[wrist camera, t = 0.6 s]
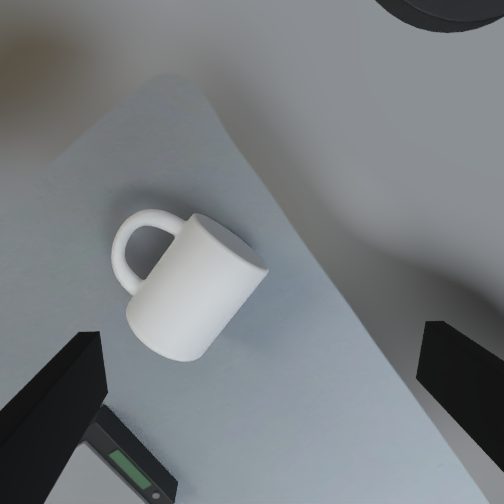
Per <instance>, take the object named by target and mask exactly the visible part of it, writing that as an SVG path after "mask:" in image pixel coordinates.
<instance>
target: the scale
mask: <svg viewBox="0 0 504 504" xmlns="http://www.w3.org/2000/svg"><path fill="white" fill-rule="evenodd" d="M177 485H178V482H177V481H176V480H175V479H174V478H173V477H172V476H171V475H170V474H169V472H168V471H167V470H166V469H165V468H164V467H163V466H162V465H161V464H160V463H159V462H158V461H157V460H156V459H155V458H154V456H153V455H152V454H151V453H150V452H149V451H148V450H147V449H146V448H145V447H144V446H143V445H142V444H141V443H140V442H139V440H138V439H137V438H136V437H135V436H134V435H133V434H132V433H131V432H130V431H129V430H128V429H127V428H126V427H125V426H124V424H123V423H122V422H121V421H120V420H119V419H118V418H117V417H116V416H115V415H114V414H113V413H112V412H111V411H110V410H109V408H108V407H107V406H106V405H104V406H102V407H101V408H99V409H98V411H97V412H96V414H95V416H94V418H93V419H92V421H91V423H90V425H89V426H88V428H87V430H86V431H85V433H84V435H83V437H82V438H81V440H80V442H79V444H78V445H77V447H76V449H75V451H74V452H73V454H72V456H71V458H70V459H69V461H68V463H67V464H66V466H65V468H64V470H63V471H62V473H61V475H60V477H59V478H58V480H57V482H56V484H55V485H54V487H53V489H52V490H51V492H50V494H49V496H48V497H47V499H46V501H45V503H44V504H174V503H175V497H176V491H177Z"/></svg>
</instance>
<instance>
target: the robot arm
mask: <svg viewBox="0 0 504 504" xmlns="http://www.w3.org/2000/svg"><path fill="white" fill-rule="evenodd" d="M416 379H417V380H418V381H419V382H420V383H421V384H422V385H423V386H424V388H426V390H427V391H428V392H429V393H430V394H431V395H432V396H433V397H434V398H435V399H436V400H437V401H438V402H439V404H441V406H442V407H443V408H444V409H445V410H446V411H447V412H448V413H449V414H450V415H451V416H452V417H453V419H454V420H455V421H456V422H457V423H458V424H459V425H460V426H461V427H462V428H463V429H464V430H465V431H466V432H467V433H468V435H469V436H470V437H471V438H472V439H473V440H474V441H475V442H476V443H477V444H478V445H479V446H480V447H481V448H482V450H483V451H484V452H485V453H486V454H487V455H488V456H489V457H490V458H491V459H492V460H493V461H494V462H495V463H496V464H497V466H498V467H499V468H500V469H501V470H502V471H503V472H504V361H503V360H501V359H500V358H498V357H497V356H495V355H494V354H492V353H491V352H489V351H488V350H486V349H485V348H483V347H482V346H480V345H479V344H477V343H476V342H474V341H473V340H471V339H470V338H468V337H466V336H465V335H463V334H462V333H461V332H459V331H457V330H456V329H455V328H453V327H452V326H450V325H449V324H447V323H445V322H444V321H426V323H425V329H424V334H423V340H422V346H421V352H420V358H419V364H418V369H417V375H416ZM107 393H108V389H107V382H106V374H105V367H104V360H103V353H102V345H101V338H100V331H97V332H78V333H77V334H76V335H75V336H74V337H73V338H72V339H71V340H70V341H69V342H68V343H67V344H66V345H65V346H64V347H63V348H62V349H61V350H60V351H59V352H58V353H57V354H56V355H55V356H54V357H53V358H52V359H51V360H50V361H49V362H48V363H47V364H46V365H45V366H44V367H43V368H42V369H41V370H40V371H39V372H38V373H37V374H36V375H35V376H34V378H33V379H32V380H31V381H30V382H29V383H28V384H27V385H26V386H25V387H24V388H23V389H22V390H21V391H20V392H19V393H18V394H17V395H16V396H15V397H14V398H13V399H12V400H11V401H10V402H9V403H8V404H7V405H6V406H5V407H4V408H3V409H2V410H1V411H0V504H44V503H45V501H46V499H47V497H48V496H49V494H50V492H51V490H52V489H53V487H54V485H55V484H56V482H57V480H58V478H59V477H60V475H61V473H62V471H63V470H64V468H65V466H66V464H67V463H68V461H69V459H70V458H71V456H72V454H73V452H74V451H75V449H76V447H77V445H78V444H79V442H80V440H81V438H82V437H83V435H84V433H85V431H86V430H87V428H88V426H89V425H90V423H91V421H92V419H93V418H94V416H95V414H96V412H97V411H98V409H99V407H100V405H101V404H102V402H103V400H104V398H105V397H106V395H107Z"/></svg>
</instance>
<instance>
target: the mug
mask: <svg viewBox="0 0 504 504" xmlns="http://www.w3.org/2000/svg"><path fill="white" fill-rule="evenodd" d="M141 226H153V227H157V228H160V229H163V230H165V231H167V232H169V233H171V234H173V235H174V237H175V239H174V241H173V242H172V243H171V245H170V246H169V248H168V249H167V250H166V252H165V253H164V255H163V256H162V257H161V259H160V260H159V261H158V263H157V264H156V266H155V267H154V268H153V270H152V271H151V273H150V274H149V275H148V277H147V278H146V279H145V280H142V279H141V278H139V277H138V276H137V275H136V274H135V273H134V272H133V271H132V270H131V269H130V267H129V266H128V264H127V262H126V260H125V248H126V245H127V242H128V240H129V238H130V236H131V235H132V233H133V232H134V231H135V230H136V229H137V228H138V227H141ZM111 261H112V267H113V271H114V273H115V276H116V278H117V279H118V281H119V282H120V284H121V285H122V286H123V287H124V288H125V289H126V290H127V291H128V292H129V293H130V294H131V295H132V299H131V300H130V302H129V303H128V305H127V309H126V316H127V320H128V323H129V325H130V327H131V329H132V331H133V332H134V333H135V335H136V336H137V337H138V338H139V339H140V340H141V341H142V342H143V343H144V344H145V345H146V346H147V347H149V348H150V349H152V350H153V351H155V352H156V353H158V354H160V355H162V356H164V357H166V358H169V359H172V360H176V361H184V362H187V361H193V360H196V359H198V358H199V357H201V356H202V355H203V353H204V352H205V351H206V350H207V348H208V347H209V346H210V345H211V343H212V342H213V341H214V340H215V338H216V337H217V336H218V335H219V333H220V332H221V331H222V330H223V328H224V327H225V326H226V325H227V323H228V322H229V321H230V320H231V318H232V317H233V316H234V315H235V314H236V312H237V311H238V310H239V309H240V307H241V306H242V305H243V304H244V302H245V301H246V300H247V299H248V297H249V296H250V295H251V294H252V292H253V291H254V290H255V289H256V287H257V286H258V285H259V284H260V282H261V281H262V280H263V279H264V277H265V276H266V275H267V274H268V272H269V268H268V266H267V264H266V263H265V261H264V260H263V259H262V258H261V257H260V256H259V255H258V254H257V253H256V252H255V251H254V250H253V249H252V248H251V247H250V246H249V245H248V244H246V243H245V242H244V241H243V240H241V239H240V238H239V237H238V236H236V235H235V234H234V233H232V232H231V231H229V230H228V229H227V228H225V227H224V226H222V225H221V224H219V223H217V222H216V221H214V220H212V219H211V218H209V217H207V216H204V215H202V214H198V213H195V214H193V215H192V216H191V217H190V218H189V220H187V221H185V220H183V219H181V218H180V217H178V216H176V215H174V214H171V213H169V212H166V211H163V210H158V209H145V210H141V211H139V212H136V213H134V214H133V215H131V216H130V217H129V218H128V219H127V220H126V221H125V222H124V223H123V224H122V225H121V227H120V228H119V230H118V232H117V234H116V236H115V238H114V241H113V245H112V252H111Z"/></svg>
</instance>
